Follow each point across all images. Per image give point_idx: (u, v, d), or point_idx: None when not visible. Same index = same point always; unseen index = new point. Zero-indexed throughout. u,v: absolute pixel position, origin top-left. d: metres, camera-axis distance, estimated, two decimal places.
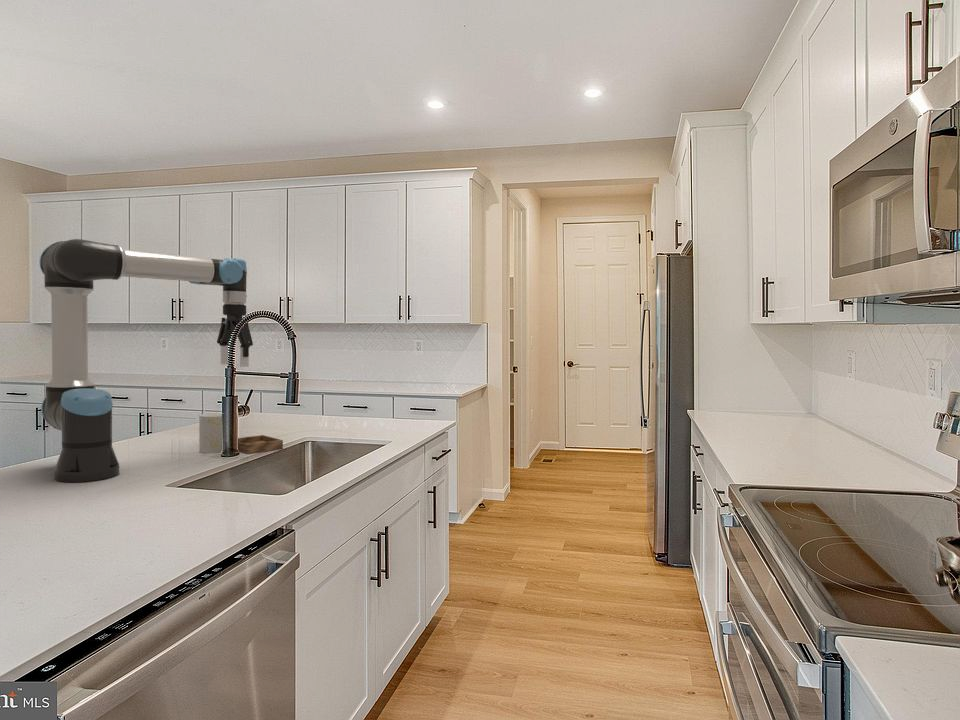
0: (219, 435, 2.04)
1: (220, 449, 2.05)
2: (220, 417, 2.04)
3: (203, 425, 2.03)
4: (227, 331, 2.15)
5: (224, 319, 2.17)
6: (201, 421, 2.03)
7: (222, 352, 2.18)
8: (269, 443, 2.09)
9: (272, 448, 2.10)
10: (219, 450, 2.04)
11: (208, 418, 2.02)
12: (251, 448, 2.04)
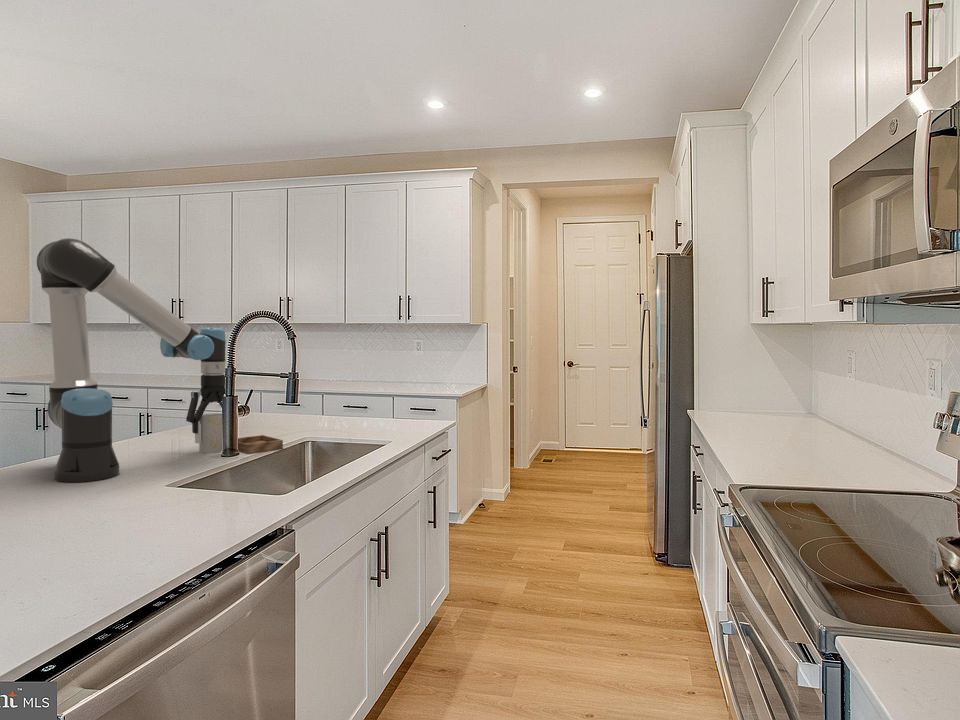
0: (219, 435, 2.04)
1: (220, 449, 2.05)
2: (220, 417, 2.04)
3: (203, 425, 2.03)
4: (219, 402, 2.09)
5: None
6: (201, 421, 2.03)
7: None
8: (269, 443, 2.09)
9: (272, 448, 2.10)
10: (219, 450, 2.04)
11: (208, 418, 2.02)
12: (251, 448, 2.04)
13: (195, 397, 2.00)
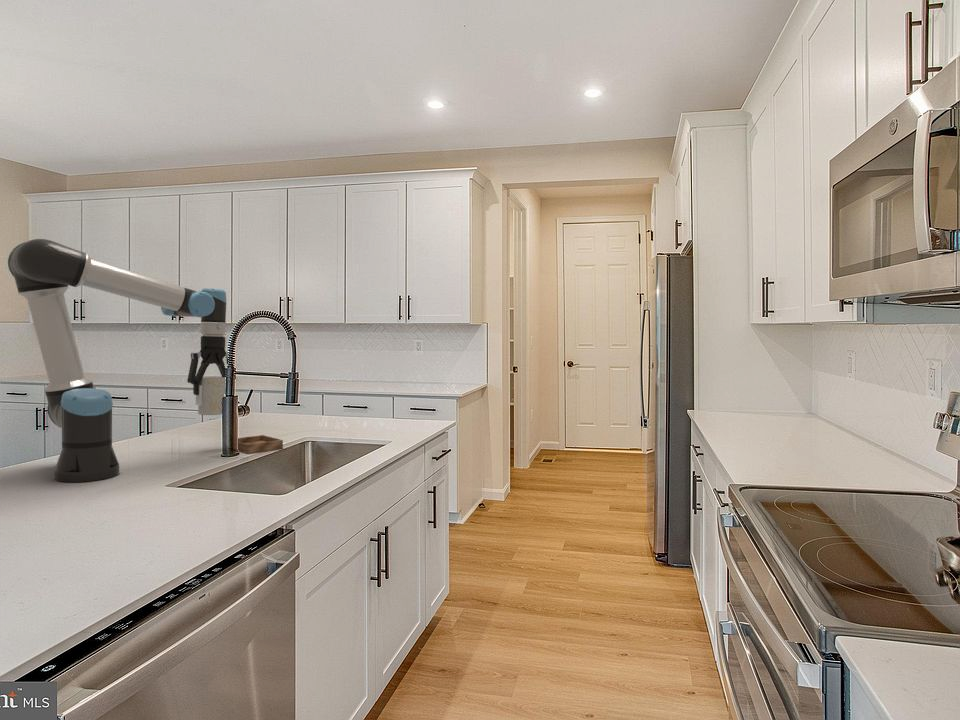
0: (218, 397, 2.03)
1: (219, 412, 2.04)
2: (220, 379, 2.03)
3: (202, 387, 2.02)
4: (217, 365, 2.08)
5: None
6: (200, 383, 2.02)
7: None
8: (269, 443, 2.09)
9: (272, 448, 2.10)
10: (218, 412, 2.04)
11: (208, 380, 2.01)
12: (251, 448, 2.04)
13: (195, 358, 2.00)
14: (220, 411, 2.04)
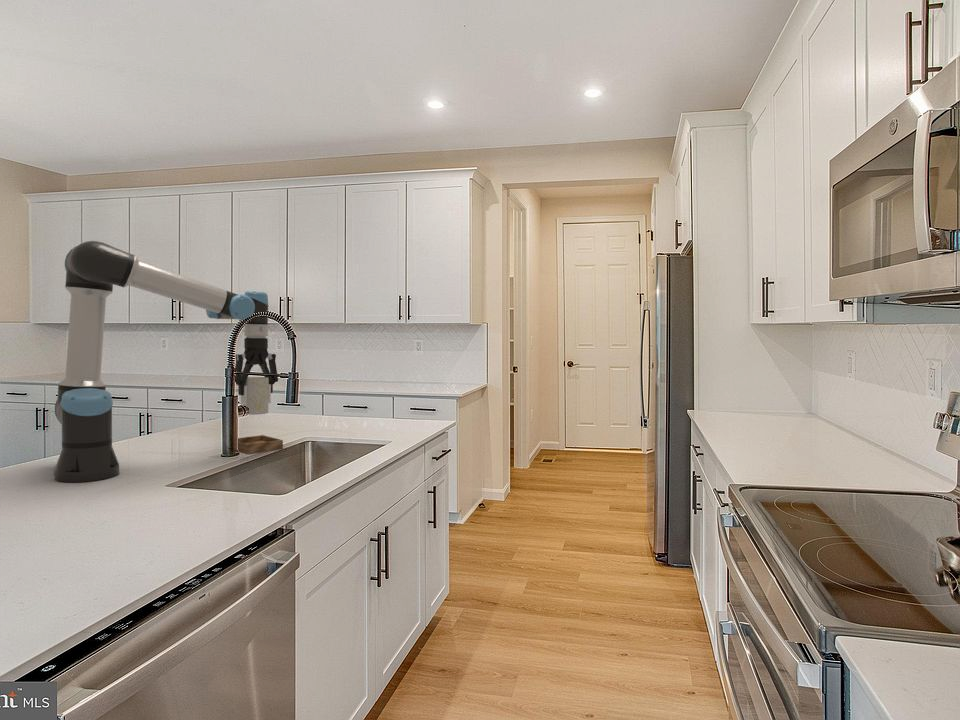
0: (262, 397, 2.09)
1: (263, 411, 2.09)
2: (263, 379, 2.09)
3: (247, 387, 2.07)
4: (260, 366, 2.13)
5: None
6: (245, 383, 2.08)
7: None
8: (269, 443, 2.09)
9: (272, 448, 2.10)
10: (262, 412, 2.09)
11: (252, 380, 2.07)
12: (251, 448, 2.04)
13: (240, 359, 2.05)
14: (264, 410, 2.10)
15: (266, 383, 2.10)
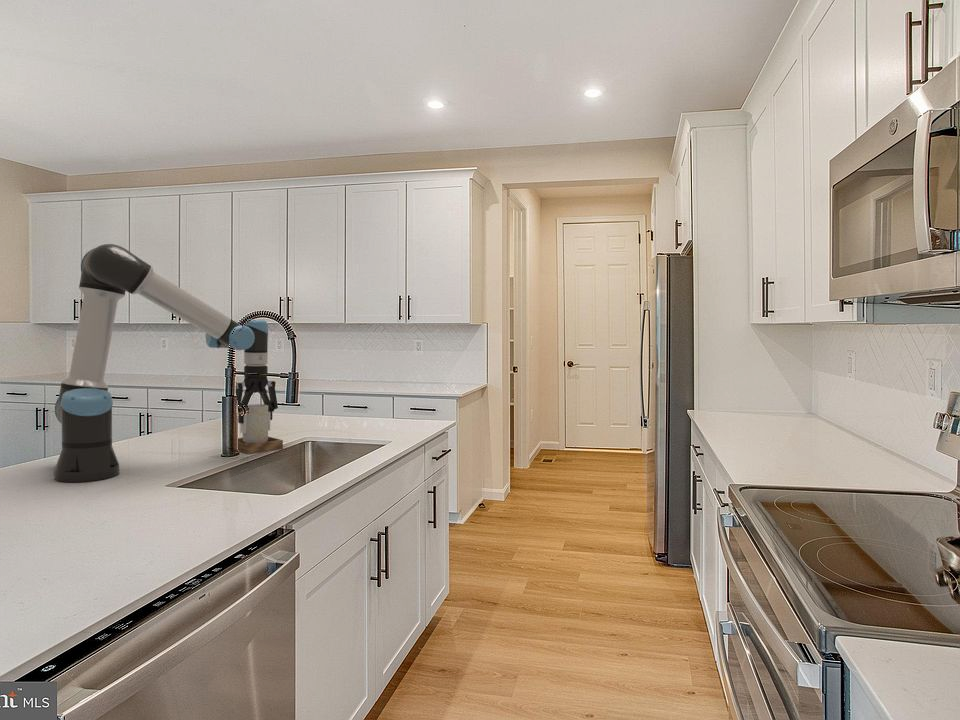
0: (262, 425, 2.09)
1: (263, 439, 2.10)
2: (263, 407, 2.09)
3: (247, 416, 2.08)
4: (260, 393, 2.13)
5: None
6: None
7: None
8: (269, 443, 2.09)
9: (272, 448, 2.10)
10: (262, 440, 2.10)
11: (252, 408, 2.07)
12: (251, 448, 2.04)
13: (240, 388, 2.05)
14: (264, 438, 2.10)
15: (266, 411, 2.10)
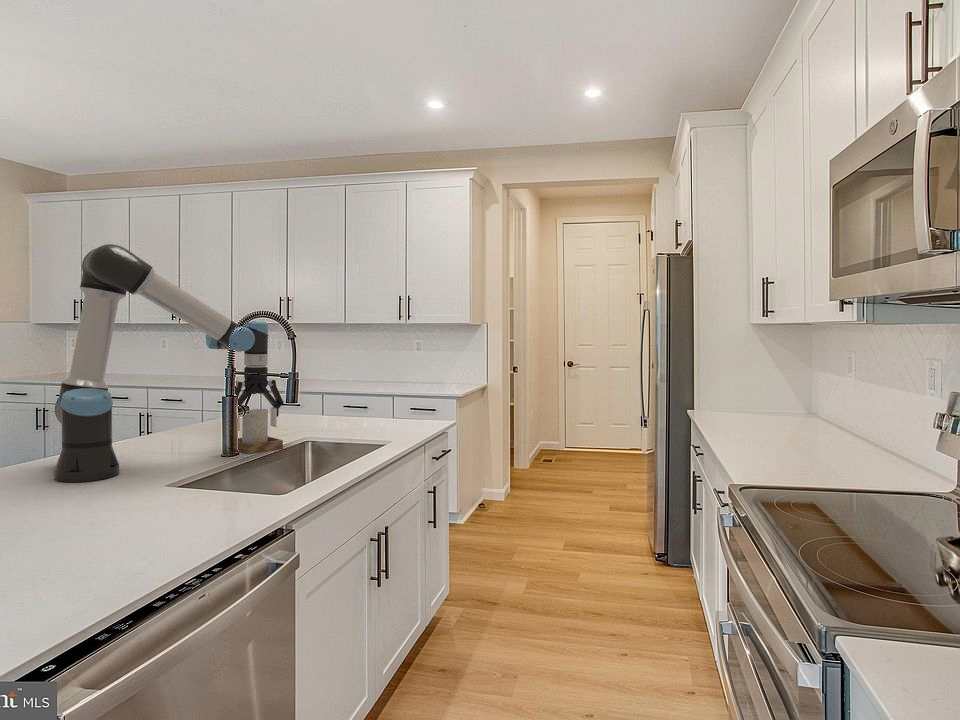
0: (261, 430, 2.09)
1: None
2: (263, 412, 2.09)
3: (246, 420, 2.08)
4: (262, 393, 2.14)
5: None
6: (244, 416, 2.08)
7: (271, 414, 2.17)
8: (269, 443, 2.09)
9: (272, 448, 2.10)
10: None
11: (251, 413, 2.07)
12: (251, 448, 2.04)
13: (239, 386, 2.05)
14: None
15: (265, 415, 2.10)
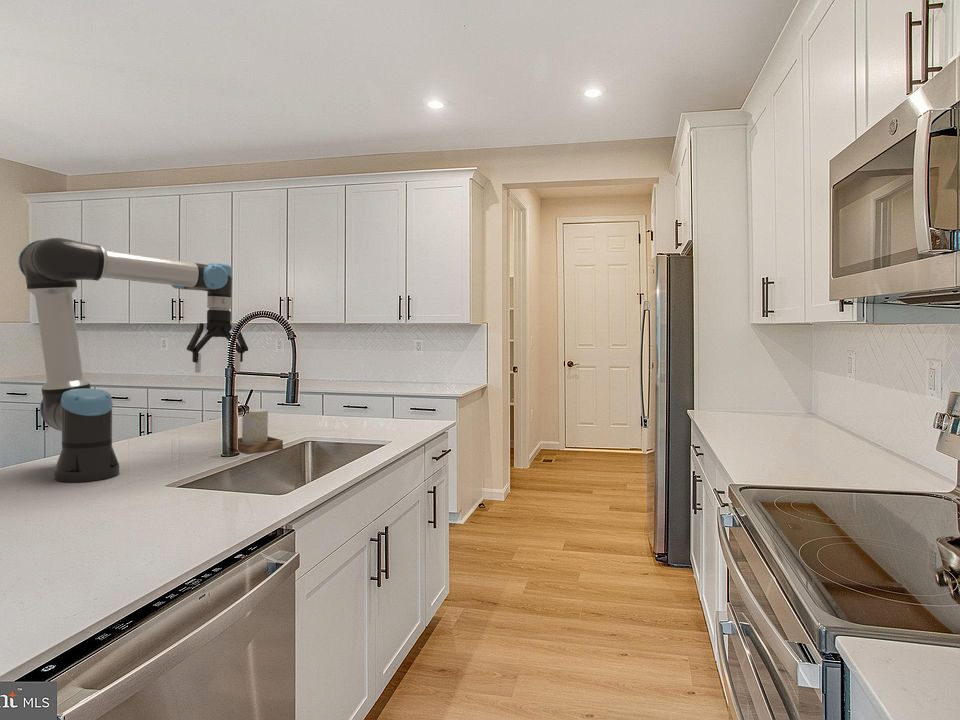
0: (261, 430, 2.09)
1: None
2: (263, 412, 2.09)
3: (246, 420, 2.08)
4: (226, 337, 2.13)
5: None
6: (244, 416, 2.08)
7: (235, 359, 2.16)
8: (269, 443, 2.09)
9: (272, 448, 2.10)
10: None
11: (251, 413, 2.07)
12: (251, 448, 2.04)
13: (200, 328, 2.05)
14: None
15: (265, 415, 2.10)
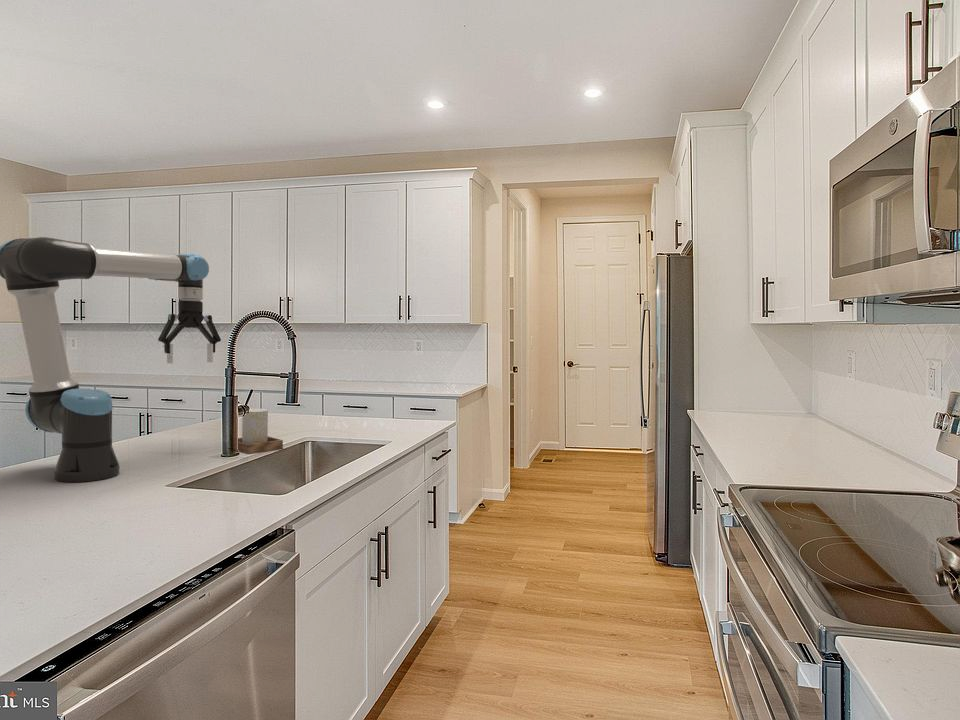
0: (261, 430, 2.09)
1: None
2: (263, 412, 2.09)
3: (246, 420, 2.08)
4: (198, 328, 2.14)
5: None
6: (244, 416, 2.08)
7: (207, 350, 2.17)
8: (269, 443, 2.09)
9: (272, 448, 2.10)
10: None
11: (251, 413, 2.07)
12: (251, 448, 2.04)
13: (172, 318, 2.05)
14: None
15: (265, 415, 2.10)
